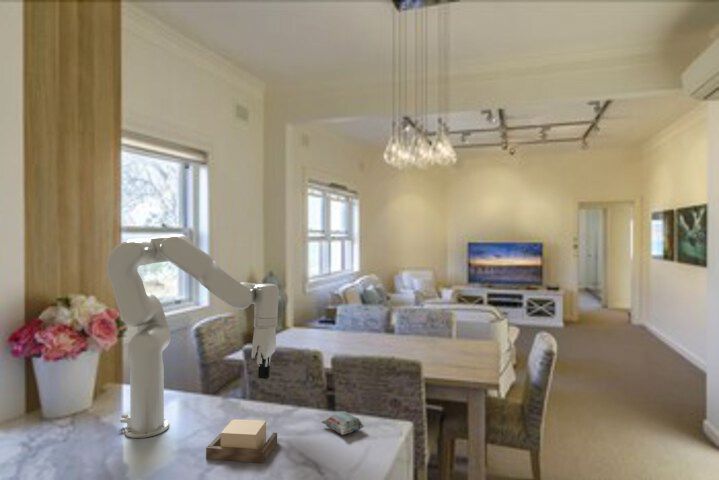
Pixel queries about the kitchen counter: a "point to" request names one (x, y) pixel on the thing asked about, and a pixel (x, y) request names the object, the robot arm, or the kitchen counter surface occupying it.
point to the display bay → (240, 451)
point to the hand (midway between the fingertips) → (263, 377)
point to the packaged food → (343, 423)
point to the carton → (244, 434)
